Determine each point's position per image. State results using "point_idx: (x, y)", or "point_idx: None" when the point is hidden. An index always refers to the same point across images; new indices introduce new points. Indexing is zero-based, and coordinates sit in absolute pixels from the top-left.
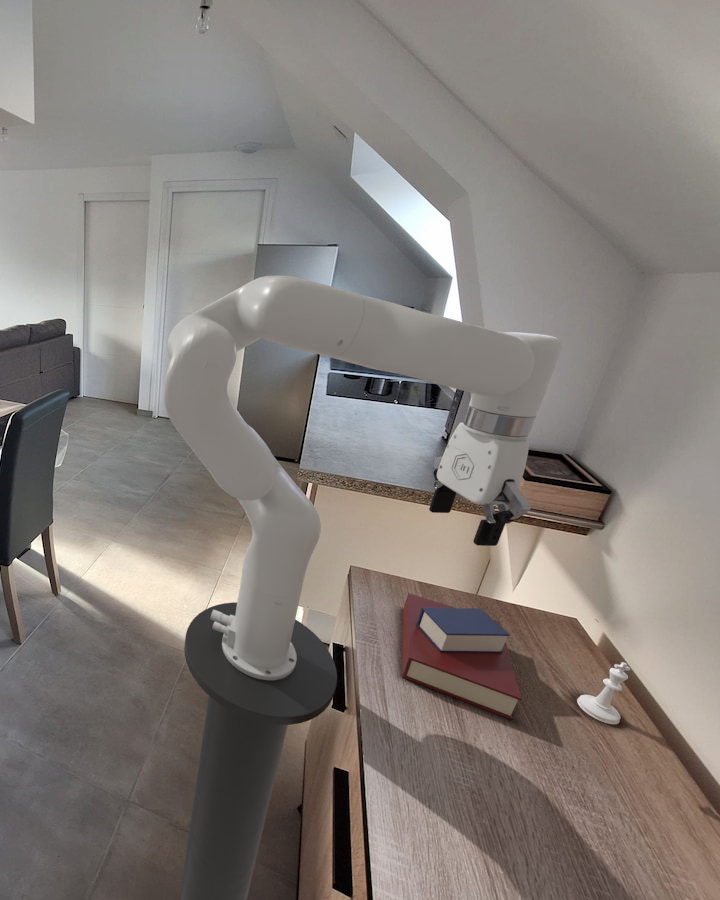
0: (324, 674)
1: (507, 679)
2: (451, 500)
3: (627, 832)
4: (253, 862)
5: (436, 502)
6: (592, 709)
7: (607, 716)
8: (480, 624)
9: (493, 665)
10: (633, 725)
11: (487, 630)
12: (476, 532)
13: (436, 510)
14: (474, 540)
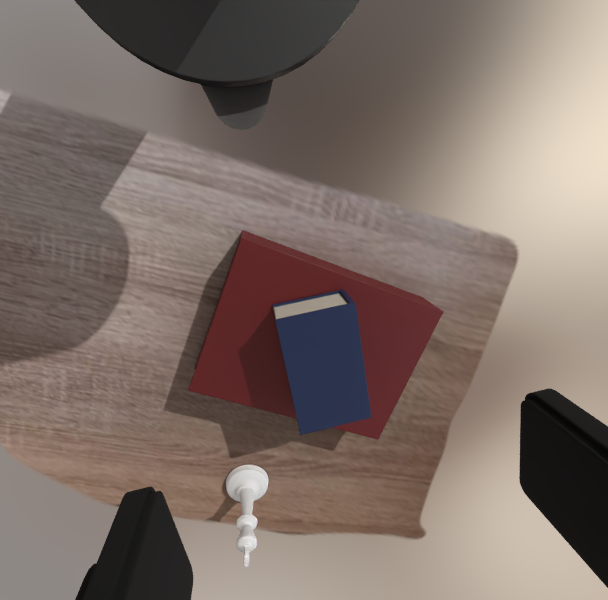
0: (177, 43)
1: (229, 388)
2: (593, 556)
3: (50, 416)
4: (215, 104)
5: (584, 453)
6: (238, 476)
7: (230, 486)
8: (320, 396)
9: (258, 381)
10: (232, 506)
11: (304, 401)
12: (136, 552)
13: (531, 425)
14: (139, 499)
